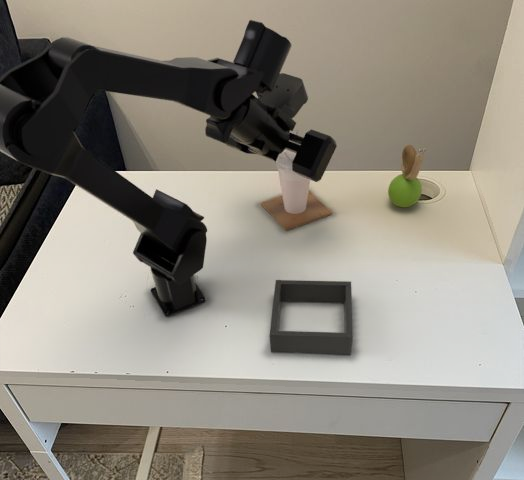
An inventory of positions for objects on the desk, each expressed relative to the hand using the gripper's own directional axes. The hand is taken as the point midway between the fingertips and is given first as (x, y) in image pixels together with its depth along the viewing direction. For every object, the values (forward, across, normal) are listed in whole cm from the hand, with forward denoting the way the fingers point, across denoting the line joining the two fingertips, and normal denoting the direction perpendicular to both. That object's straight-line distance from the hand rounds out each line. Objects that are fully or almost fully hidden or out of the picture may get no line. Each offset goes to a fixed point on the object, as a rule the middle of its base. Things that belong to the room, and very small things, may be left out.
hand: (300, 160), depth 88 cm
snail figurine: (+14, -14, -1) cm, 20 cm away
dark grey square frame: (-9, -19, +21) cm, 30 cm away
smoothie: (+5, 0, +7) cm, 9 cm away
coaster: (+5, 0, +7) cm, 9 cm away
